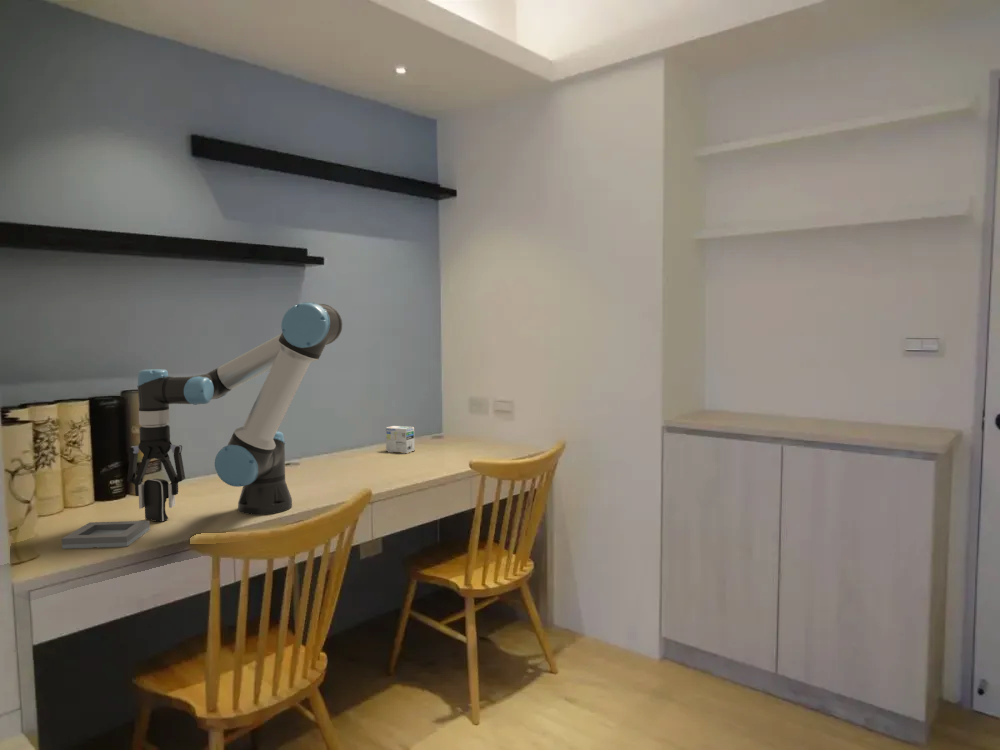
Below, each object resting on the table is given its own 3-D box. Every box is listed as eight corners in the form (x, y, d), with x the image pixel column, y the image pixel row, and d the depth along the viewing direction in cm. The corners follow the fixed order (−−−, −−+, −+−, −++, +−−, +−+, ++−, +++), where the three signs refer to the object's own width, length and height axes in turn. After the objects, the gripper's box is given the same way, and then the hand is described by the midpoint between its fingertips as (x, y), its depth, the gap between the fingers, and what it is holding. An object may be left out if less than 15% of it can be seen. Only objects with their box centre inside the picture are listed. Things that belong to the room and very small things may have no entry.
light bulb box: (415, 451, 298) (415, 426, 298) (407, 454, 292) (406, 428, 291) (394, 449, 303) (393, 425, 302) (385, 452, 297) (385, 427, 296)
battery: (172, 519, 194) (171, 479, 193) (160, 522, 190) (159, 481, 190) (156, 516, 197) (154, 476, 196) (144, 519, 194) (142, 479, 193)
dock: (149, 529, 184) (149, 520, 184) (126, 546, 170) (126, 536, 170) (90, 531, 182) (89, 522, 182) (62, 548, 169) (61, 538, 168)
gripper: (196, 422, 197) (199, 502, 198) (122, 423, 195) (125, 504, 196) (187, 426, 189) (190, 509, 191) (110, 427, 187) (113, 511, 189)
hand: (157, 506), depth 194 cm, fingers closed on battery, 7 cm apart
